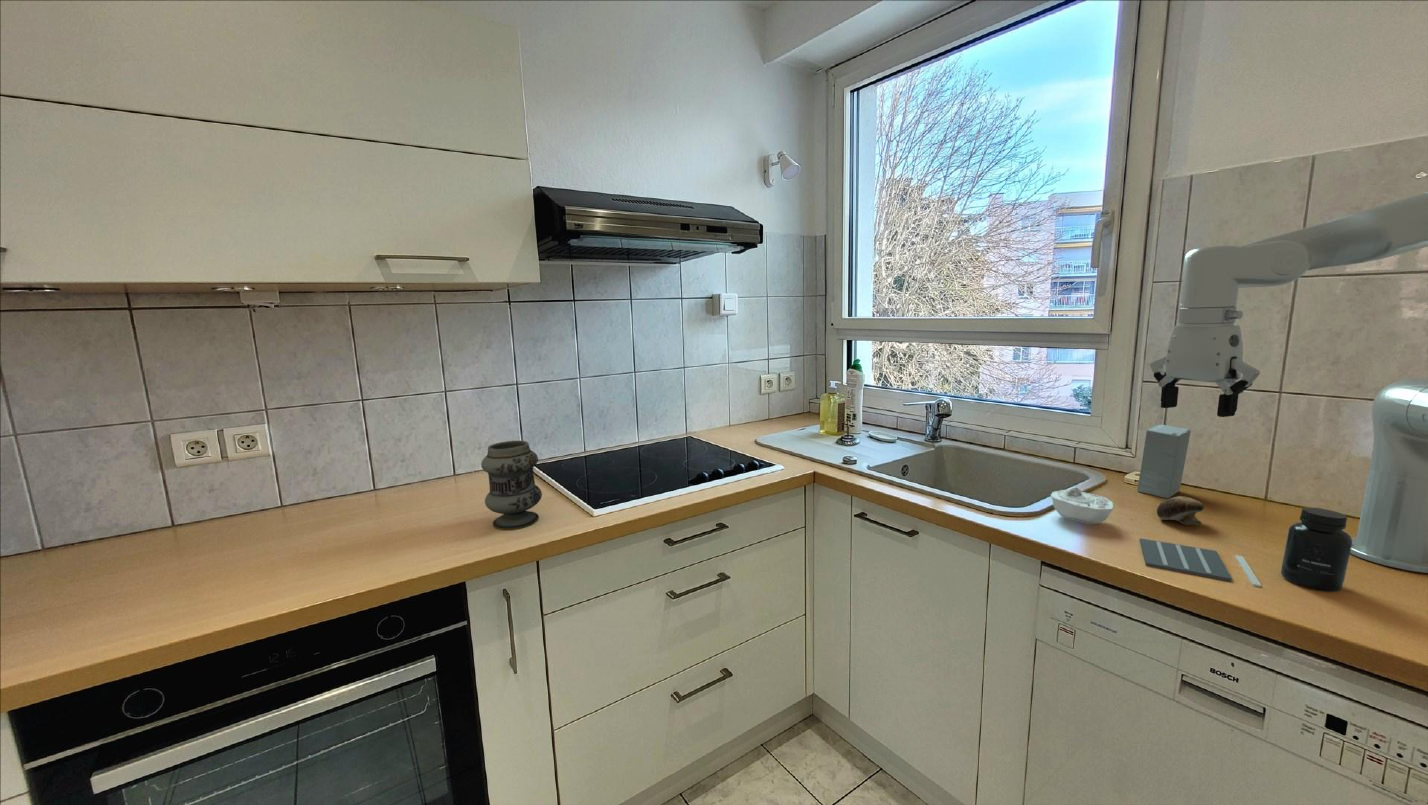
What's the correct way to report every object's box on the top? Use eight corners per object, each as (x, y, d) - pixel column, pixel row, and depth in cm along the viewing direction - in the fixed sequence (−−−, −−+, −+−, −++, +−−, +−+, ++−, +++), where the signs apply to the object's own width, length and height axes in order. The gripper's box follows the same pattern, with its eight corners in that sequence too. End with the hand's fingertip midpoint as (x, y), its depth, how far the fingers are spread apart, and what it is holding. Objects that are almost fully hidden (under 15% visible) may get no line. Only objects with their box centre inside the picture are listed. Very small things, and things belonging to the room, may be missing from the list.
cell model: (1084, 534, 107) (1087, 502, 106) (1037, 513, 119) (1039, 483, 118) (1126, 529, 109) (1130, 497, 108) (1076, 509, 121) (1079, 479, 120)
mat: (1216, 553, 98) (1216, 550, 98) (1231, 581, 88) (1231, 578, 88) (1139, 540, 104) (1139, 537, 104) (1145, 565, 94) (1146, 562, 94)
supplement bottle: (1304, 591, 85) (1316, 519, 83) (1268, 571, 91) (1279, 503, 89) (1356, 594, 83) (1370, 521, 81) (1316, 573, 90) (1328, 505, 88)
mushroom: (1221, 518, 106) (1201, 488, 108) (1176, 530, 108) (1158, 501, 110) (1204, 523, 113) (1186, 495, 115) (1162, 535, 115) (1145, 507, 117)
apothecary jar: (512, 509, 129) (506, 436, 126) (554, 514, 125) (548, 439, 122) (475, 528, 118) (466, 449, 115) (519, 535, 114) (512, 452, 111)
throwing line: (1242, 557, 96) (1242, 556, 96) (1261, 587, 86) (1261, 585, 86) (1234, 556, 97) (1235, 555, 97) (1252, 585, 87) (1252, 583, 87)
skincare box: (1148, 485, 135) (1155, 423, 132) (1184, 492, 129) (1192, 428, 127) (1135, 492, 130) (1142, 428, 128) (1172, 500, 125) (1180, 433, 122)
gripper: (1281, 316, 89) (1268, 418, 92) (1172, 317, 106) (1163, 403, 108) (1246, 318, 87) (1234, 422, 90) (1141, 318, 104) (1133, 405, 107)
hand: (1195, 411), depth 99 cm, fingers open, 9 cm apart
